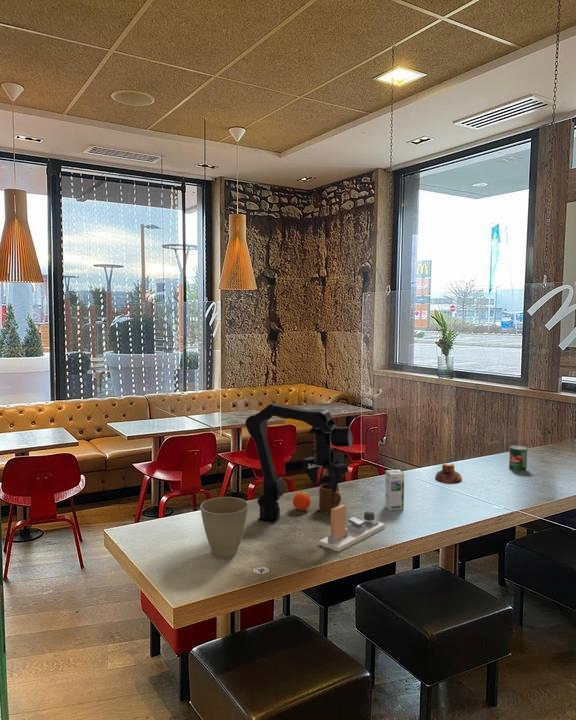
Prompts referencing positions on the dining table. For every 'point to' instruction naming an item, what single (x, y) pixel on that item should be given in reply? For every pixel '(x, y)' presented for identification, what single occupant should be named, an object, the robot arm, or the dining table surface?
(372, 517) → the push button
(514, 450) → the canned tomato
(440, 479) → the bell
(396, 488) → the syrup box
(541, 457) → the dining table surface
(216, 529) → the plant pot
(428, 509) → the dining table surface
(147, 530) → the dining table surface
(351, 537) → the switch console
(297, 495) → the clementine
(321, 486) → the mug
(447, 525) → the dining table surface
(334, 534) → the paddle
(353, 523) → the rocker
